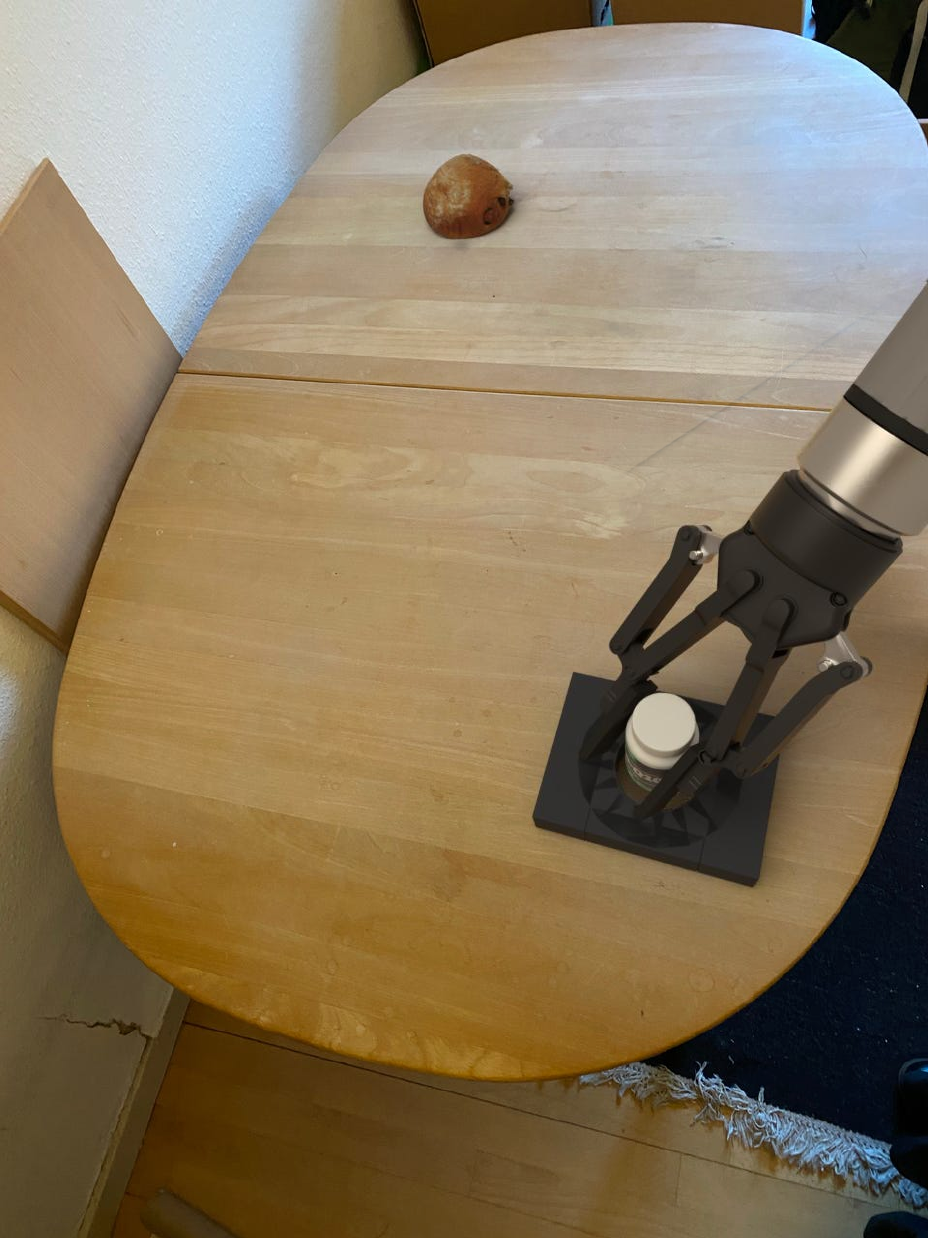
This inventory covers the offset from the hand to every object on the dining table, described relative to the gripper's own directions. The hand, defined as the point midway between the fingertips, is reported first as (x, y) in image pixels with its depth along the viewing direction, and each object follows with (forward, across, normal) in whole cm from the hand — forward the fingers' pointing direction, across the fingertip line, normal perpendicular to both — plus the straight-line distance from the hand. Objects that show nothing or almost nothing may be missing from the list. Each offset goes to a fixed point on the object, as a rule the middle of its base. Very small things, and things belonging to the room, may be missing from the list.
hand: (619, 781), depth 57 cm
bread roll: (-19, +64, -30) cm, 73 cm away
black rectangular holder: (+3, 0, -8) cm, 8 cm away
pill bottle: (0, 0, -5) cm, 5 cm away
